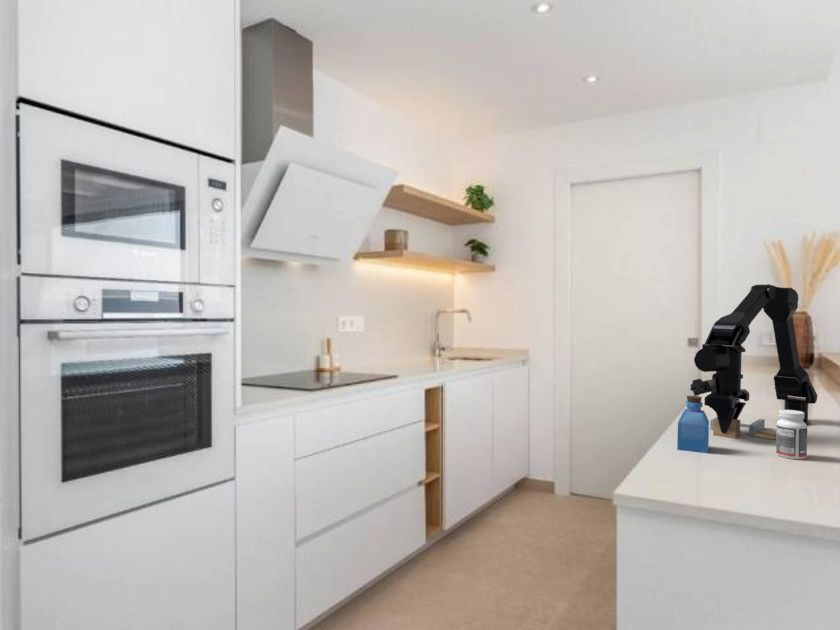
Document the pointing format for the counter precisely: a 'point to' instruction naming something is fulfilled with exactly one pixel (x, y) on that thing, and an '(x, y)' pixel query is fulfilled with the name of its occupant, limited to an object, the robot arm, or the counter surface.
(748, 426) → the trap tile
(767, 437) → the coaster
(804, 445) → the pill bottle
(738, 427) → the block
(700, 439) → the blue corked bottle
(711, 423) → the channel
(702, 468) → the counter surface
